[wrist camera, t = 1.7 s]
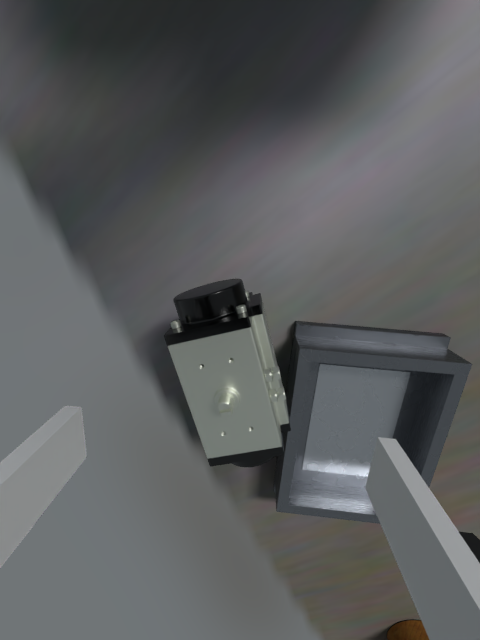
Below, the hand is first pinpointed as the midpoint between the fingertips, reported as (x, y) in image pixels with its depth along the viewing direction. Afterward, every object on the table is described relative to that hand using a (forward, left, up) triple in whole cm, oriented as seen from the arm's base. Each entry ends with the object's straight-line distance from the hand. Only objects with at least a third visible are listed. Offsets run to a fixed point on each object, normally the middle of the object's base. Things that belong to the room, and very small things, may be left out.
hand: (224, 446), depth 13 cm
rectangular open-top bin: (+8, +11, -14) cm, 20 cm away
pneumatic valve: (0, 0, -15) cm, 15 cm away
